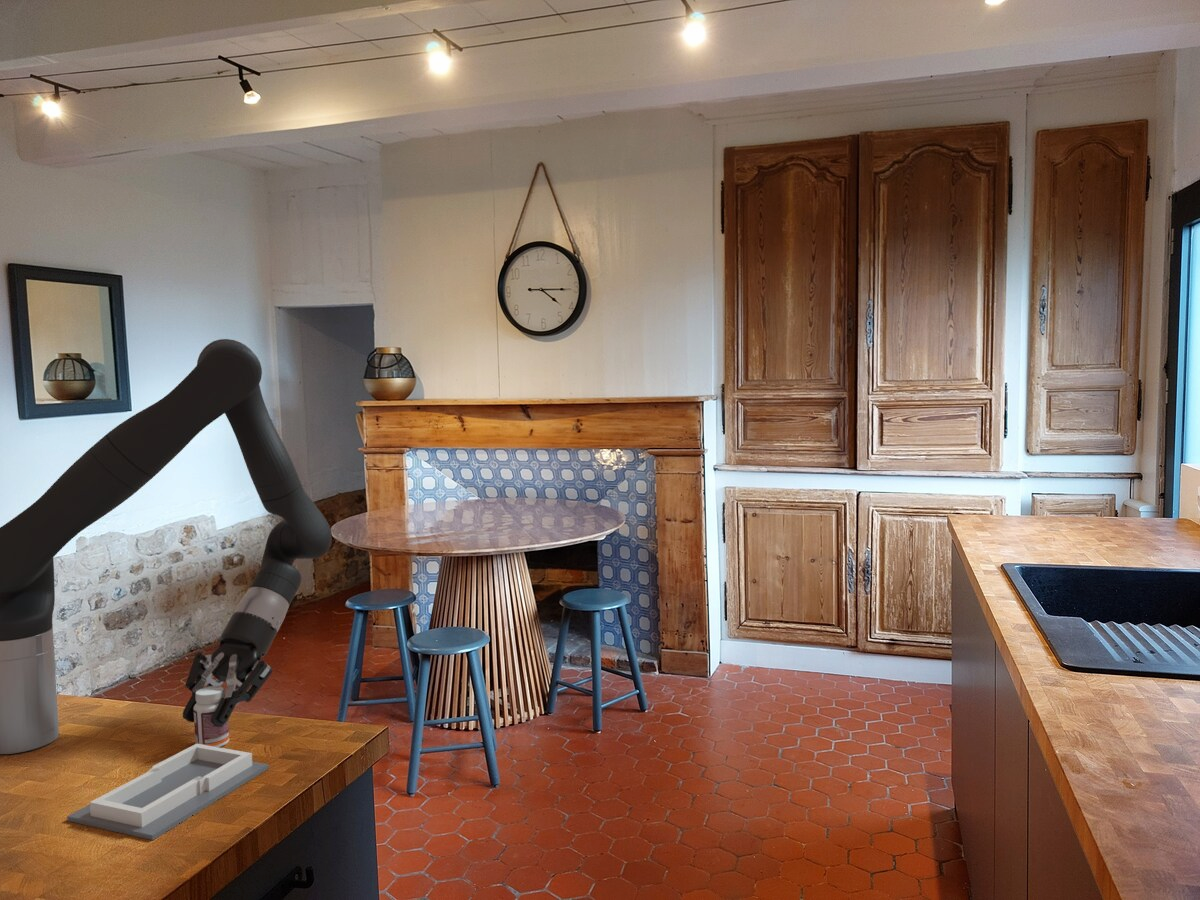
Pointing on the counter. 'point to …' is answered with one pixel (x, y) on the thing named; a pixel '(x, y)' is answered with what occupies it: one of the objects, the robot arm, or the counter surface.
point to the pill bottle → (209, 717)
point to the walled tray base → (170, 791)
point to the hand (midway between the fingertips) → (202, 721)
